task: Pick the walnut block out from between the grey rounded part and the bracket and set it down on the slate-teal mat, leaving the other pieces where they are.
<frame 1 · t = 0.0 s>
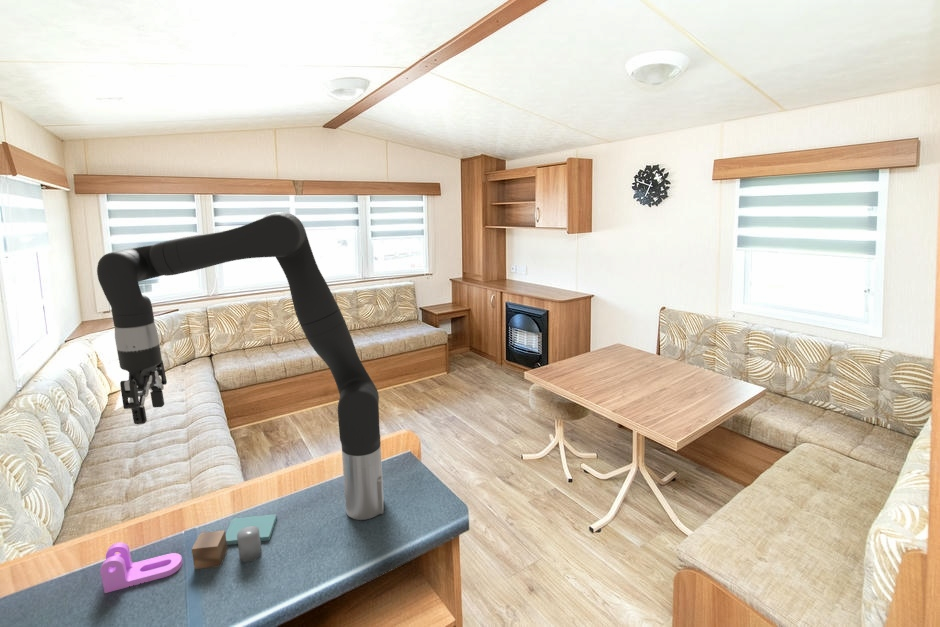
hand: (150, 414, 106), 29 cm above the counter, tool pointing down, fingers open, 8 cm apart
grey rounded part: (250, 554, 105), on the counter
bracket: (146, 574, 100), on the counter
walnut block: (211, 559, 104), on the counter
teal mat: (250, 531, 113), on the counter
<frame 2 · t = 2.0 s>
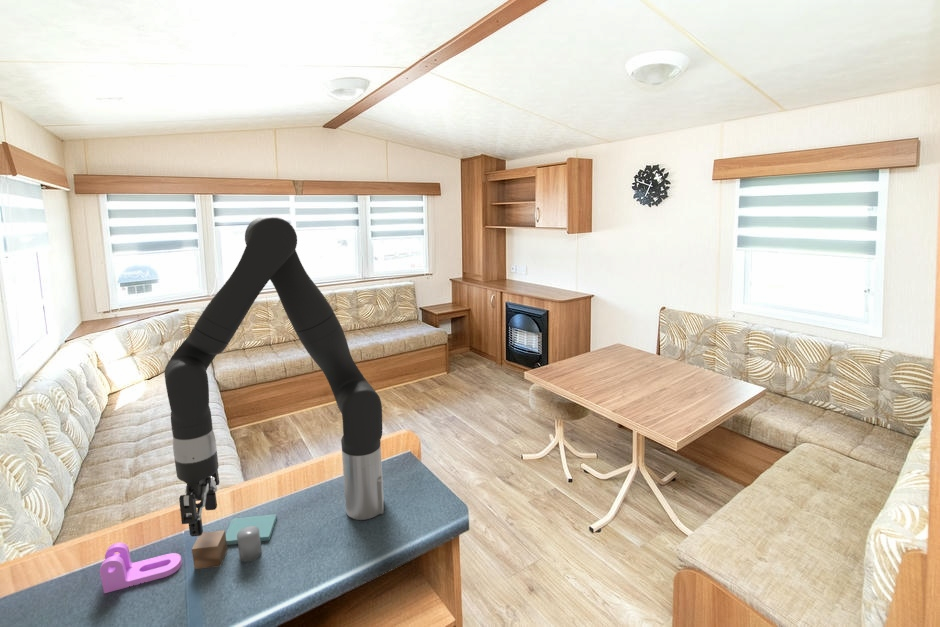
hand: (204, 521, 102), 9 cm above the counter, tool pointing down, fingers open, 8 cm apart
nothing on the counter moved.
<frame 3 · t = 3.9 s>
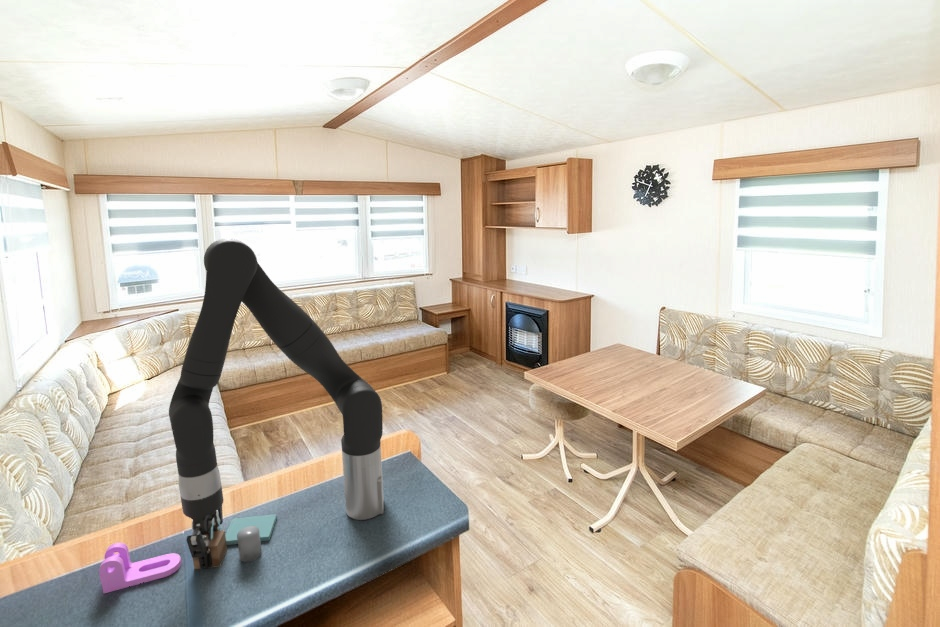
hand: (211, 557, 104), 0 cm above the counter, tool pointing down, fingers closed on walnut block, 5 cm apart
walnut block: (211, 559, 104), on the counter, touching gripper
everything else where it was.
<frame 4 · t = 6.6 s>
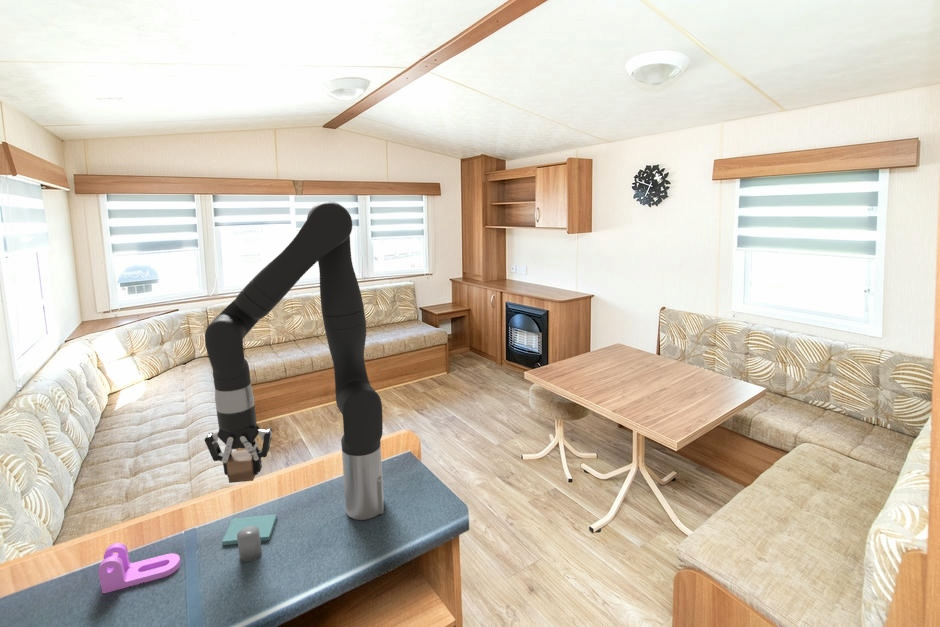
hand: (244, 473, 109), 15 cm above the counter, tool pointing down, fingers closed on walnut block, 5 cm apart
walnut block: (244, 475, 109), point 15 cm above the counter, touching gripper
everything else where it was.
when the fingers open (3 cm above the counter, at t = 9.6 s): walnut block drops 1 cm, resting on teal mat.
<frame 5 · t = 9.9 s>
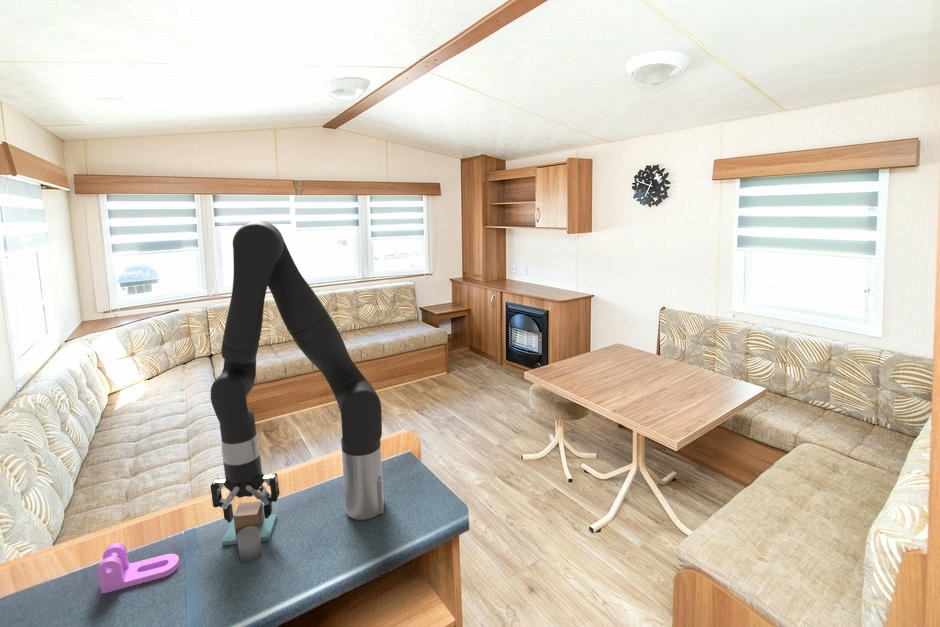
hand: (249, 518, 112), 3 cm above the counter, tool pointing down, fingers open, 7 cm apart
walnut block: (250, 527, 112), point 1 cm above the counter, touching teal mat
everything else where it was.
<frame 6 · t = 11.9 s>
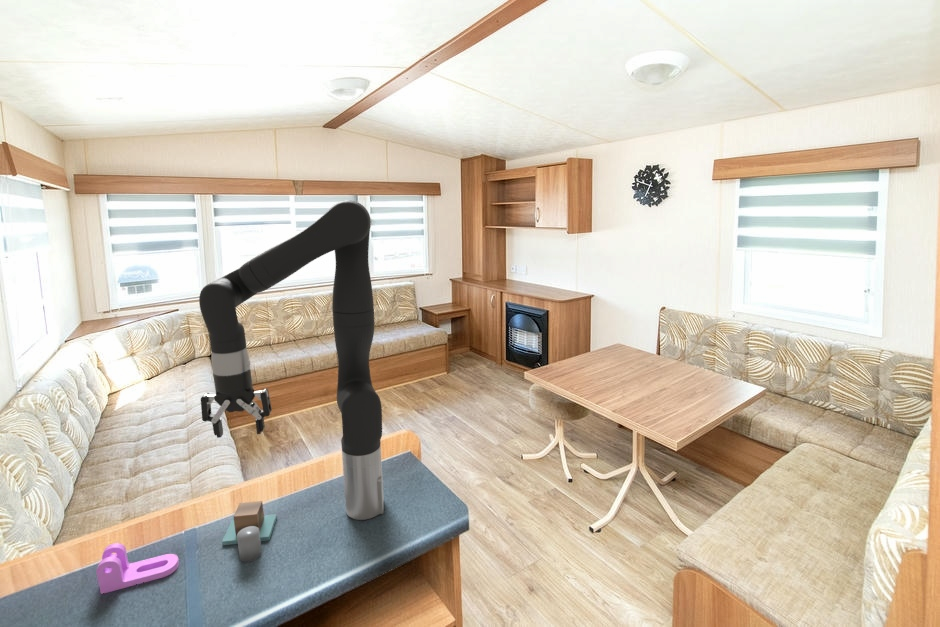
hand: (240, 434, 111), 23 cm above the counter, tool pointing down, fingers open, 8 cm apart
nothing on the counter moved.
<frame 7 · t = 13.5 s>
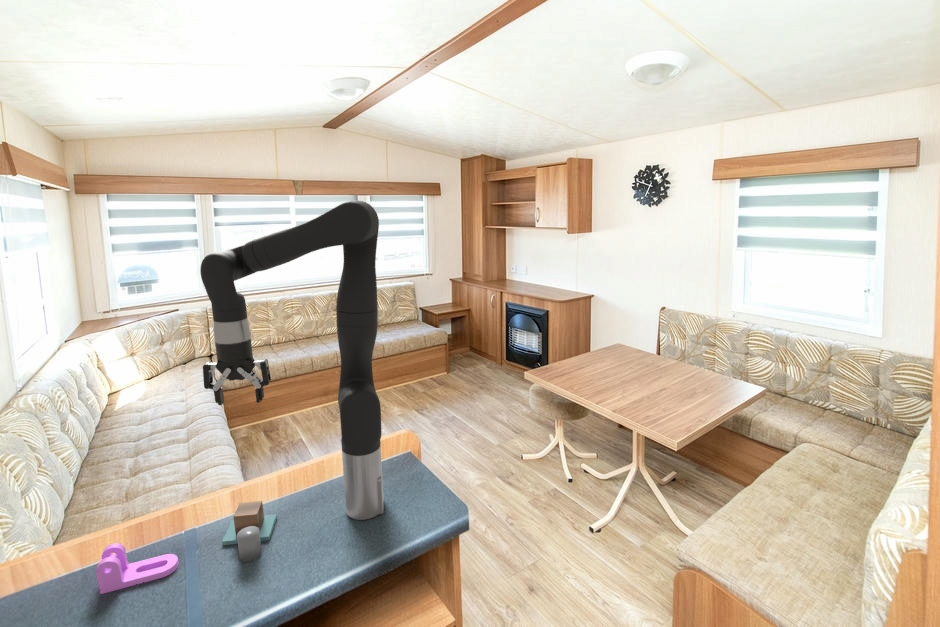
hand: (240, 402, 115), 28 cm above the counter, tool pointing down, fingers open, 8 cm apart
nothing on the counter moved.
at the end: walnut block inside the target area on the teal mat (0.0 cm from its centre), point 1.0 cm above the teal mat's base; walnut block tilted 0°; bracket moved 0.8 cm from its start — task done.
